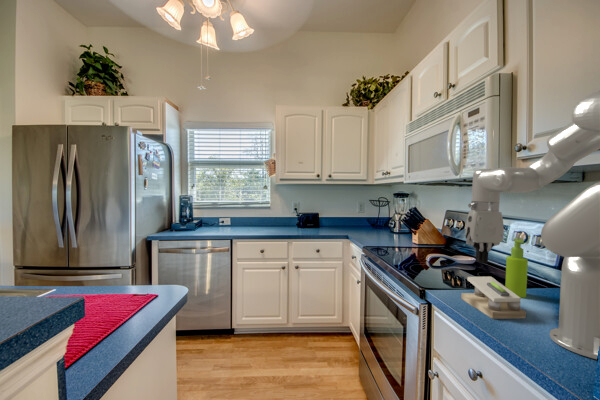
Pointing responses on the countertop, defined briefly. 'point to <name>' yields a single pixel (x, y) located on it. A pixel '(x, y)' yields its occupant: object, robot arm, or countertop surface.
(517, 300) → the white rectangular slab
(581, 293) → the robot arm
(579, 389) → the countertop surface
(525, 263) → the soap dispenser
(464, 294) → the level base
